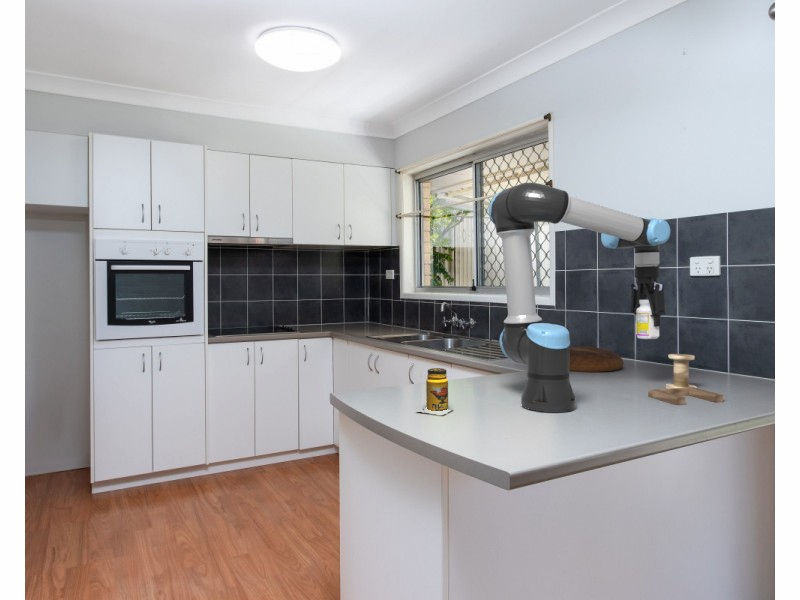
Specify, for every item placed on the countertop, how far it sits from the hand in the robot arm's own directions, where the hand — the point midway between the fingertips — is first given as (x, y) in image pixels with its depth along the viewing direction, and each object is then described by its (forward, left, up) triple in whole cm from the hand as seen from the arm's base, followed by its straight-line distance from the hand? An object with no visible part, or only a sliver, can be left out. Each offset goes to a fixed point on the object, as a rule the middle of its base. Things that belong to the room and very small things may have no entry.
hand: (647, 335), depth 177 cm
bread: (+5, +43, -18) cm, 47 cm away
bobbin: (+9, -5, -18) cm, 20 cm away
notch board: (0, -17, -18) cm, 25 cm away
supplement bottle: (0, 0, -1) cm, 1 cm away
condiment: (-77, -12, -18) cm, 80 cm away
